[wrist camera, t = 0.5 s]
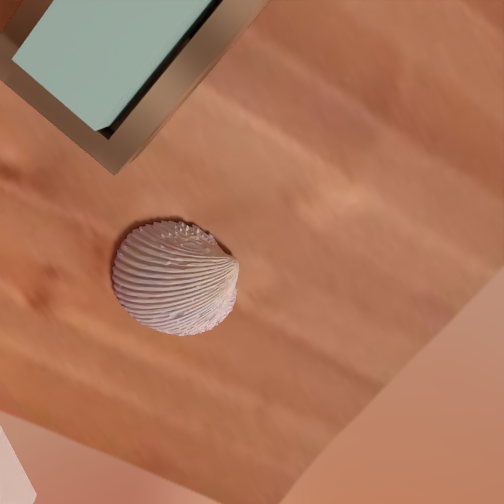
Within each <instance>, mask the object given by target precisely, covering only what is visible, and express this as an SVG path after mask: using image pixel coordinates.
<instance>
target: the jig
mask: <svg viewBox="0 0 504 504" xmlns="http://www.w3.org/2000/svg"><path fill="white" fill-rule="evenodd" d="M53 1H54V0H23V1H22V2H21V4H20V5H19V7H18V8H17V10H16V11H15V13H14V14H13V15H12V17H11V18H10V20H9V21H8V23H7V24H6V25H5V27H4V28H3V30H2V31H1V33H0V80H1V81H2V82H4V83H5V84H6V85H7V86H8V87H9V88H11V89H12V90H13V91H14V92H15V93H17V94H18V95H19V96H20V97H21V98H23V99H24V100H25V101H26V102H27V103H28V104H30V105H31V106H32V107H33V108H34V109H36V110H37V111H38V112H39V113H40V114H42V115H43V116H44V117H45V118H46V119H48V120H49V121H50V122H51V123H52V124H53V125H55V126H56V127H57V128H58V129H59V130H61V131H62V132H63V133H64V134H65V135H67V136H68V137H69V138H70V139H71V140H72V141H74V142H75V143H76V144H77V145H78V146H80V147H81V148H82V149H83V150H84V151H86V152H87V153H88V154H89V155H90V156H91V157H93V158H94V159H95V160H96V161H97V162H99V163H100V164H101V165H102V166H103V167H105V168H106V169H107V170H108V171H109V172H111V173H112V174H113V175H116V174H117V173H118V172H119V171H121V170H122V169H123V168H124V167H125V166H127V165H128V164H129V163H130V162H132V161H133V160H134V159H135V158H136V157H138V155H139V154H140V153H141V152H142V151H143V150H144V148H145V147H146V146H147V145H148V144H149V143H150V141H151V140H152V139H153V138H154V137H155V136H156V134H157V133H158V132H159V131H160V130H161V128H162V127H163V126H164V125H165V124H166V123H167V121H168V120H169V119H170V118H171V117H172V116H173V114H174V113H175V112H176V111H177V110H178V109H179V107H180V106H181V105H182V104H183V103H184V101H185V100H186V99H187V98H188V97H189V96H190V94H191V93H192V92H193V91H194V90H195V89H196V87H197V86H198V85H199V84H200V83H201V82H202V80H203V79H204V78H205V77H206V76H207V74H208V73H209V72H210V71H211V70H212V69H213V67H214V66H215V65H216V64H217V63H218V62H219V60H220V59H221V58H222V57H223V56H224V55H225V53H226V52H227V51H228V50H229V49H230V47H231V46H232V45H233V44H234V43H235V42H236V40H237V39H238V38H239V37H240V36H241V35H242V33H243V32H244V31H245V30H246V29H247V28H248V26H249V25H250V24H251V23H252V22H253V21H254V19H255V18H256V17H257V16H258V15H259V13H260V12H261V11H262V10H263V9H264V8H265V6H266V5H267V4H268V3H269V2H270V1H271V0H218V1H217V2H216V3H215V4H214V6H213V7H212V8H211V9H210V11H209V12H208V13H207V14H206V15H205V17H204V18H203V19H202V20H201V22H200V23H199V24H198V25H197V26H196V28H195V29H194V30H193V31H192V33H191V34H190V35H189V36H188V37H187V39H186V40H185V41H184V42H183V43H182V45H181V46H180V47H179V48H178V50H177V51H176V52H175V53H174V54H173V56H172V57H171V58H170V59H169V61H168V62H167V63H166V64H165V65H164V67H163V68H162V69H161V70H160V72H159V73H158V74H157V75H156V76H155V78H154V79H153V80H152V81H151V83H150V84H149V85H148V86H147V87H146V89H145V90H144V91H143V92H142V94H141V95H140V96H139V97H138V98H137V100H136V101H135V102H134V103H133V105H132V106H131V107H130V108H129V109H128V111H127V112H126V113H125V114H124V116H123V117H122V118H121V119H120V120H119V122H117V123H115V124H112V125H110V126H107V127H104V128H102V129H99V130H97V131H94V130H93V129H92V128H91V127H90V126H88V125H87V124H86V123H85V122H84V121H83V120H81V119H80V118H79V117H78V116H77V115H76V114H74V113H73V112H72V111H71V110H70V109H69V108H68V107H66V106H65V105H64V104H63V103H62V102H61V101H59V100H58V99H57V98H56V97H55V96H54V95H52V94H51V93H50V92H49V91H48V90H47V89H45V88H44V87H43V86H42V85H41V84H40V83H38V82H37V81H36V80H35V79H34V78H33V77H32V76H30V75H29V74H28V73H27V72H26V71H25V70H23V69H22V68H21V67H20V66H19V65H18V64H16V63H15V62H14V61H13V60H12V58H13V57H14V55H15V54H16V53H17V51H18V50H19V48H20V47H21V46H22V44H23V43H24V41H25V40H26V39H27V37H28V36H29V34H30V33H31V32H32V30H33V29H34V27H35V26H36V25H37V23H38V22H39V20H40V19H41V18H42V16H43V15H44V13H45V12H46V11H47V9H48V8H49V6H50V5H51V4H52V2H53Z"/></svg>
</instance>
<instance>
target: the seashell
mask: <svg viewBox="0 0 504 504" xmlns="http://www.w3.org/2000/svg"><path fill="white" fill-rule="evenodd" d="M114 260H115V261H114V263H115V266H113V269H112V270H113V272H114V274H113V275H112V279H113V280H114V281H115V283H114V288H115V289H116V290H114V292H115V294H116V295H117V297H119V302H120V304H123V308H124V310H126V311H128V314H129V315H130V316H133V318H134V319H135V320H136V321H140V324H141V325H146V326H147V327H149V328H154V329H155V330H157V331H161V332H163V333H168V334H176V335H178V336H181V335H187V336H188V334H190V335H191V334H192V335H195V333H196V334H198V333H202V332H205V331H206V330H211V329H212V328H213V327H214V326H215V325H217V326H218V323H220V322H221V321H223V320H224V318H225V317H227V316H228V313H229V312H230V311H232V307H233V305H234V302H236V300H235V297H236V294H237V292H236V290H237V288H236V287H235V285H236V282H237V278H238V272H239V265H238V261H237V259H236V258H235V257H234V256H230V255H228V254H226V253H225V252H223V250H222V249H221V248H220V247H219V246H218V244H217V242H216V241H215V239H214V238H213V236H212V235H211V233H209V234H208V235H207V234H206V233H204V232H203V231H202V230H201V229H200V228H199V227H198V226H195V225H193V224H192V227H189V226H188V225H186V224H185V223H183V222H181V221H179V223H176V222H173V221H168V222H167V221H162V220H161V223H159V222H154V223H153V225H150V224H146V226H139V229H133V230H132V233H129V234H128V235H127V238H126V239H124V240H123V242H122V243H121V246H120V248H119V249H118V250H117V257H116V258H115V259H114Z"/></svg>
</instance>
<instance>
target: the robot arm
mask: <svg viewBox="0 0 504 504" xmlns="http://www.w3.org/2000/svg"><path fill="white" fill-rule="evenodd" d="M36 496H37V494H36V493H35V491H34V489H33V487H32V485H31V483H30V481H29V479H28V477H27V475H26V474H25V472H24V470H23V468H22V466H21V464H20V462H19V460H18V458H17V456H16V454H15V452H14V450H13V449H12V447H11V445H10V443H9V441H8V439H7V437H6V435H5V433H4V431H3V429H2V428H1V425H0V504H33V502H34V500H35V498H36Z"/></svg>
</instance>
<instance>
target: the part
mask: <svg viewBox="0 0 504 504" xmlns="http://www.w3.org/2000/svg"><path fill="white" fill-rule="evenodd" d="M217 1H218V0H54V1H53V2H52V4H51V5H50V6H49V8H48V9H47V11H46V12H45V13H44V15H43V16H42V18H41V19H40V20H39V22H38V23H37V25H36V26H35V27H34V29H33V30H32V32H31V33H30V34H29V36H28V37H27V39H26V40H25V41H24V43H23V44H22V46H21V47H20V48H19V50H18V51H17V53H16V54H15V55H14V57H13V58H12V60H13V61H14V62H15V63H16V64H18V65H19V66H20V67H21V68H22V69H23V70H25V71H26V72H27V73H28V74H29V75H30V76H32V77H33V78H34V79H35V80H36V81H37V82H38V83H40V84H41V85H42V86H43V87H44V88H45V89H47V90H48V91H49V92H50V93H51V94H52V95H54V96H55V97H56V98H57V99H58V100H59V101H61V102H62V103H63V104H64V105H65V106H66V107H68V108H69V109H70V110H71V111H72V112H73V113H74V114H76V115H77V116H78V117H79V118H80V119H81V120H83V121H84V122H85V123H86V124H87V125H88V126H90V127H91V128H92V129H93V130H94V131H97V130H99V129H102V128H104V127H107V126H110V125H112V124H115V123H117V122H119V120H120V119H121V118H122V117H123V116H124V114H125V113H126V112H127V111H128V109H129V108H130V107H131V106H132V105H133V103H134V102H135V101H136V100H137V98H138V97H139V96H140V95H141V94H142V92H143V91H144V90H145V89H146V87H147V86H148V85H149V84H150V83H151V81H152V80H153V79H154V78H155V76H156V75H157V74H158V73H159V72H160V70H161V69H162V68H163V67H164V65H165V64H166V63H167V62H168V61H169V59H170V58H171V57H172V56H173V54H174V53H175V52H176V51H177V50H178V48H179V47H180V46H181V45H182V43H183V42H184V41H185V40H186V39H187V37H188V36H189V35H190V34H191V33H192V31H193V30H194V29H195V28H196V26H197V25H198V24H199V23H200V22H201V20H202V19H203V18H204V17H205V15H206V14H207V13H208V12H209V11H210V9H211V8H212V7H213V6H214V4H215V3H216V2H217Z"/></svg>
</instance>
